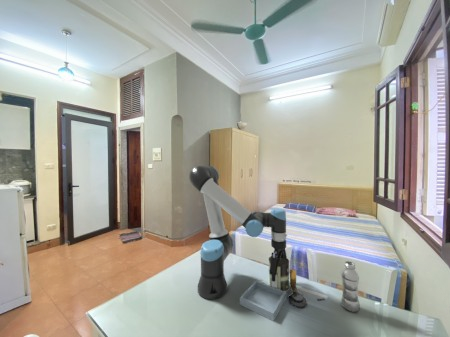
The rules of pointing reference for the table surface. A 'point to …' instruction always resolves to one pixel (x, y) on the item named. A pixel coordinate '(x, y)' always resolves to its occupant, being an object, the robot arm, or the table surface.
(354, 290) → the plastic bottle
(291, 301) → the crank base
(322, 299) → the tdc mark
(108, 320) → the table surface
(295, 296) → the crank
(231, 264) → the table surface
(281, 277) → the coffee can
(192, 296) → the table surface
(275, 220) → the robot arm
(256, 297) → the tray
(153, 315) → the table surface
